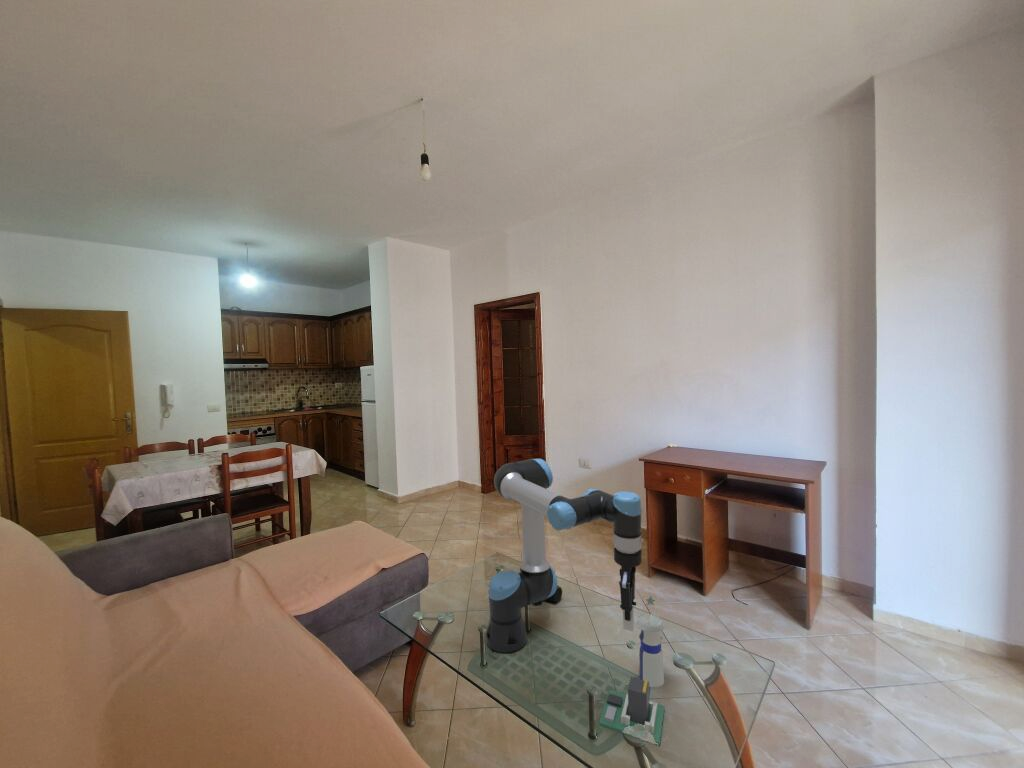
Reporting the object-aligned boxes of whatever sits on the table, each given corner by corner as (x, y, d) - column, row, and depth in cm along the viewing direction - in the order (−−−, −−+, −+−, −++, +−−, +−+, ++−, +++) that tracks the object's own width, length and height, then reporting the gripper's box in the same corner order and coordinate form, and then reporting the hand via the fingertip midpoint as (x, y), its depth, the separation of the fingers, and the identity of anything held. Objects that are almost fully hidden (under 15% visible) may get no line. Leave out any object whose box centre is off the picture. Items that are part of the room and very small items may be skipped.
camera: (548, 612, 172) (547, 588, 171) (528, 604, 178) (527, 581, 178) (568, 595, 184) (567, 573, 184) (549, 588, 190) (548, 567, 190)
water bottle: (633, 670, 138) (631, 595, 137) (658, 667, 138) (656, 593, 137) (642, 689, 129) (640, 610, 128) (669, 686, 130) (667, 608, 129)
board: (599, 726, 116) (598, 715, 116) (609, 693, 128) (609, 683, 128) (659, 747, 109) (659, 735, 109) (664, 710, 121) (664, 699, 121)
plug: (628, 720, 117) (627, 687, 116) (631, 706, 121) (630, 675, 121) (647, 726, 115) (646, 693, 114) (649, 712, 119) (648, 680, 119)
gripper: (637, 560, 110) (638, 646, 112) (644, 541, 122) (645, 618, 123) (609, 555, 114) (610, 639, 115) (618, 537, 125) (619, 612, 127)
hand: (628, 628), depth 119 cm, fingers closed
